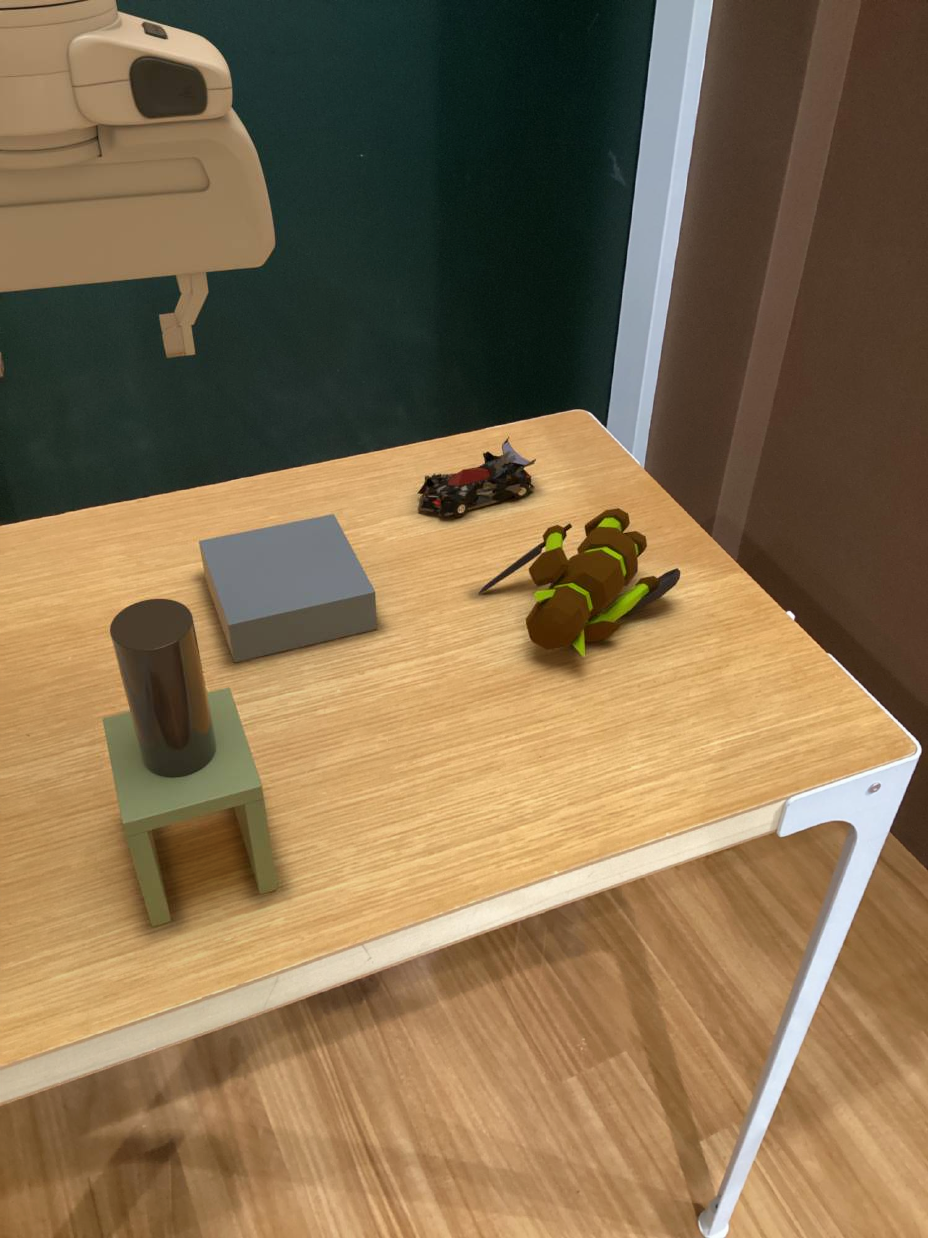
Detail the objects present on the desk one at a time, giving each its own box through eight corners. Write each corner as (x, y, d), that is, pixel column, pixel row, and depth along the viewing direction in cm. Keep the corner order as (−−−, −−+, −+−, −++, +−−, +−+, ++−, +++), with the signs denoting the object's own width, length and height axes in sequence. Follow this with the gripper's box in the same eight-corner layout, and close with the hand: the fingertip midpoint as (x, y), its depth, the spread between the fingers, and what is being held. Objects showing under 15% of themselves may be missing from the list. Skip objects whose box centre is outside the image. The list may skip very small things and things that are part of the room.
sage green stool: (152, 927, 66) (122, 823, 60) (131, 821, 73) (101, 717, 66) (278, 889, 69) (262, 785, 62) (247, 790, 75) (229, 686, 69)
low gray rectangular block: (234, 663, 85) (227, 624, 83) (204, 577, 94) (198, 540, 91) (377, 629, 89) (375, 591, 86) (336, 549, 97) (333, 513, 95)
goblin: (498, 546, 98) (437, 629, 87) (618, 469, 90) (569, 549, 78) (566, 630, 101) (515, 722, 89) (689, 562, 92) (651, 654, 80)
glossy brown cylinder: (148, 786, 62) (115, 658, 56) (136, 735, 65) (104, 608, 59) (223, 766, 64) (199, 639, 57) (208, 717, 67) (184, 591, 60)
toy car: (540, 496, 105) (543, 460, 102) (432, 529, 100) (432, 492, 98) (508, 467, 109) (510, 432, 106) (403, 497, 104) (402, 461, 102)
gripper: (-264, 99, 41) (-142, 418, 50) (265, 71, 46) (292, 365, 55) (-236, 61, 46) (-128, 360, 55) (243, 40, 51) (270, 316, 60)
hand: (86, 362), depth 55 cm, fingers open, 8 cm apart
